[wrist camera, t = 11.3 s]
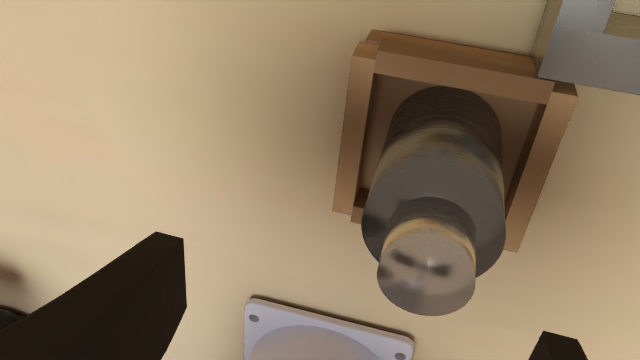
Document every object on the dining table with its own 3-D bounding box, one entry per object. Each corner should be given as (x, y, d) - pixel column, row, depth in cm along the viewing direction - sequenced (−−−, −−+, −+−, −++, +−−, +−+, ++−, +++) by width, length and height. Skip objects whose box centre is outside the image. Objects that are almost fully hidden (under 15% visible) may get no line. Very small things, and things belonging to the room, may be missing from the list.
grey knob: (517, 100, 17) (532, 242, 11) (481, 193, 19) (480, 353, 14) (401, 73, 18) (362, 198, 12) (379, 167, 20) (336, 312, 14)
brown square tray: (512, 220, 21) (514, 259, 19) (344, 183, 22) (331, 217, 20) (571, 57, 17) (581, 86, 15) (366, 22, 18) (353, 45, 16)
